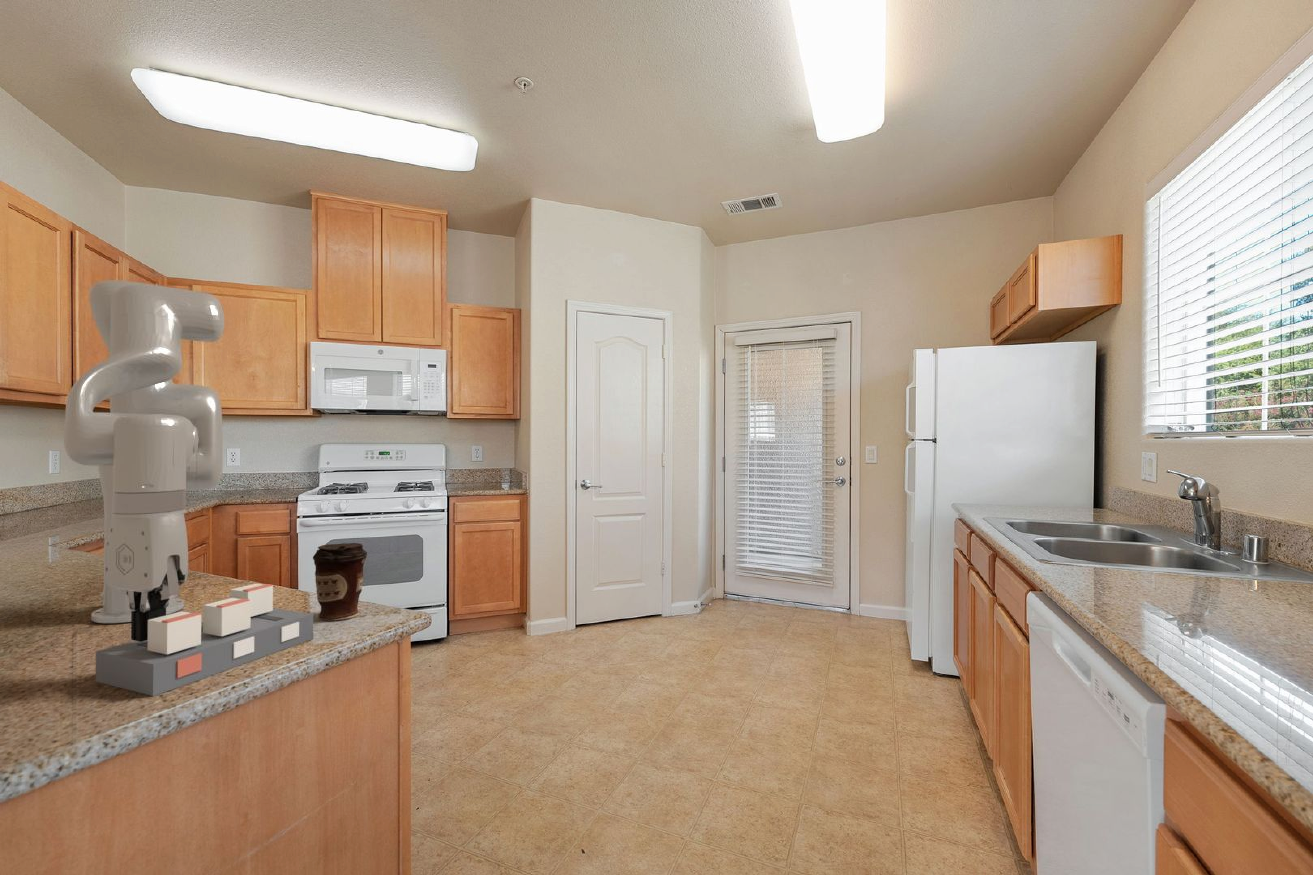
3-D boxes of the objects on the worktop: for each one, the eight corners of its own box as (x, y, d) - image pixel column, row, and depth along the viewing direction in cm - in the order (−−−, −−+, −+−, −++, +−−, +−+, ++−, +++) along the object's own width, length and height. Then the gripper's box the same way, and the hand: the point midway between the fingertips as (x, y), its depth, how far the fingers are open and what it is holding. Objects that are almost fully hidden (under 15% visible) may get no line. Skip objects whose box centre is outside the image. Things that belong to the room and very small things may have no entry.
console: (95, 681, 75) (96, 650, 75) (261, 629, 96) (261, 605, 96) (154, 696, 71) (154, 663, 71) (313, 638, 92) (314, 613, 92)
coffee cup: (341, 625, 98) (341, 550, 98) (299, 622, 100) (300, 548, 100) (375, 611, 107) (376, 542, 107) (337, 608, 108) (337, 540, 108)
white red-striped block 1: (202, 632, 82) (203, 603, 82) (231, 624, 85) (232, 596, 85) (221, 636, 80) (221, 606, 80) (250, 627, 84) (250, 599, 84)
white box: (147, 650, 75) (147, 618, 75) (181, 640, 78) (182, 609, 79) (167, 654, 73) (167, 621, 73) (200, 644, 77) (201, 613, 77)
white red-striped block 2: (230, 614, 90) (230, 588, 90) (255, 607, 94) (255, 582, 94) (247, 617, 88) (248, 590, 88) (272, 610, 92) (273, 584, 92)
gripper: (82, 504, 77) (80, 639, 77) (153, 510, 72) (151, 655, 72) (147, 498, 84) (146, 622, 84) (216, 503, 79) (214, 635, 79)
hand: (148, 637), depth 78 cm, fingers closed
